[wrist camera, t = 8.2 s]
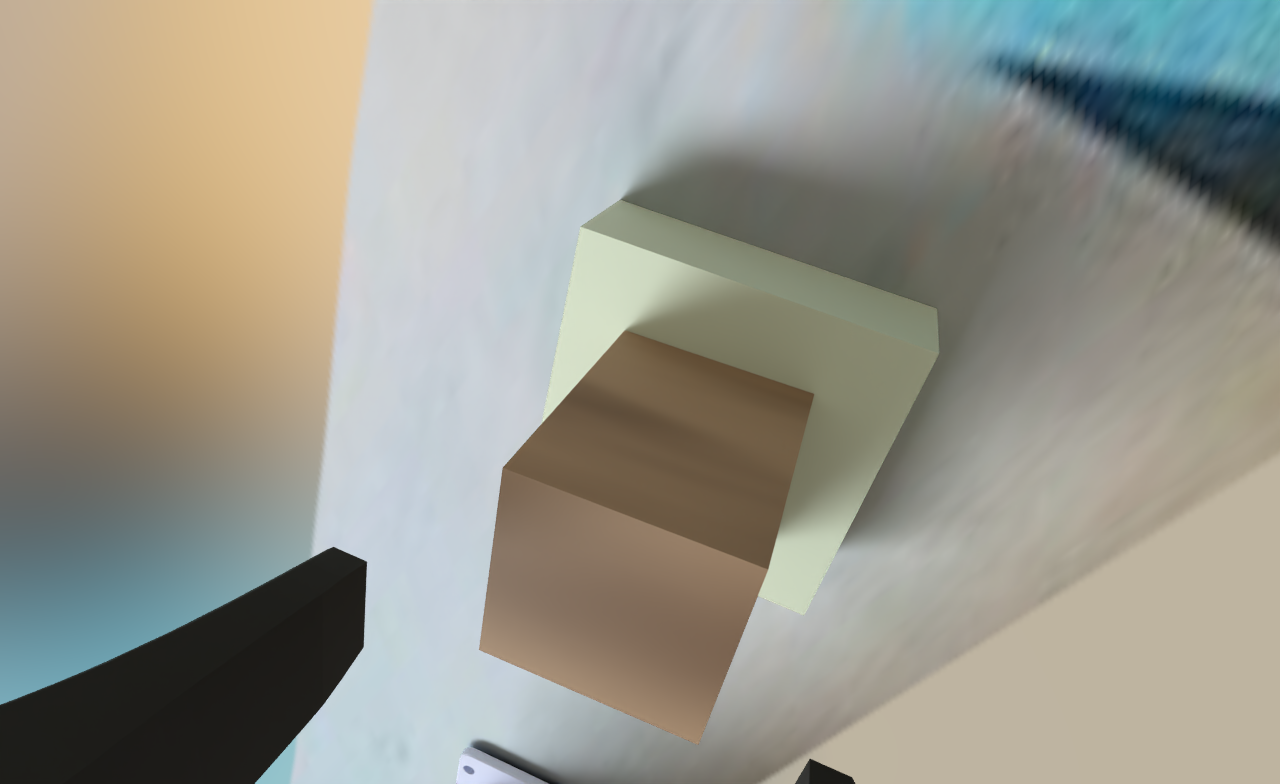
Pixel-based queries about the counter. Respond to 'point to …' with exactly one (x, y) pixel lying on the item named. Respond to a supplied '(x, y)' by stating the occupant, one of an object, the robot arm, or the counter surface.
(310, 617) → the robot arm
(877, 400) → the sage block
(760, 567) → the walnut block
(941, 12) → the counter surface
